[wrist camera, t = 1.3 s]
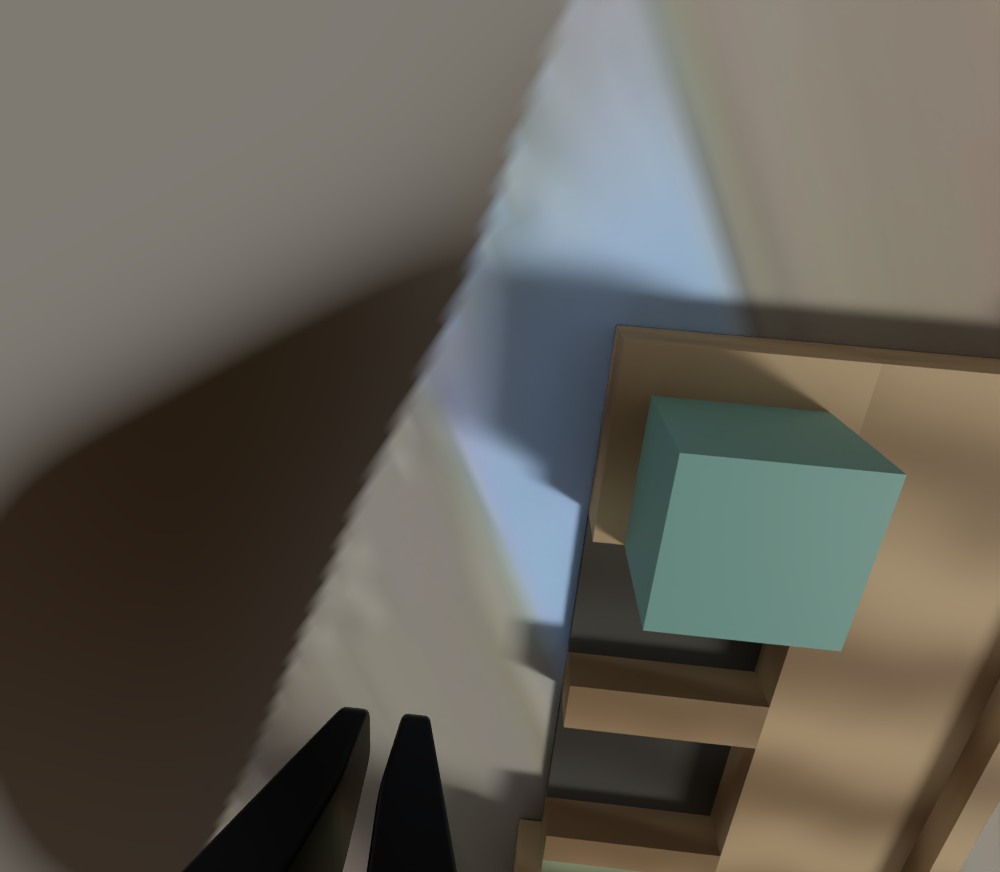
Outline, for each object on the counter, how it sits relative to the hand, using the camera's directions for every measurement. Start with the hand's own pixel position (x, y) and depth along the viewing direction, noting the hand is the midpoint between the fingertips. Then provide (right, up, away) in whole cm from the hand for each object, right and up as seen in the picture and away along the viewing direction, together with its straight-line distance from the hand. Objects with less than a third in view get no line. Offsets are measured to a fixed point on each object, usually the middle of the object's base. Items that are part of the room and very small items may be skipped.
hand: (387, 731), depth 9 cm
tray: (+11, -6, +15) cm, 19 cm away
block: (+8, +3, +9) cm, 13 cm away
